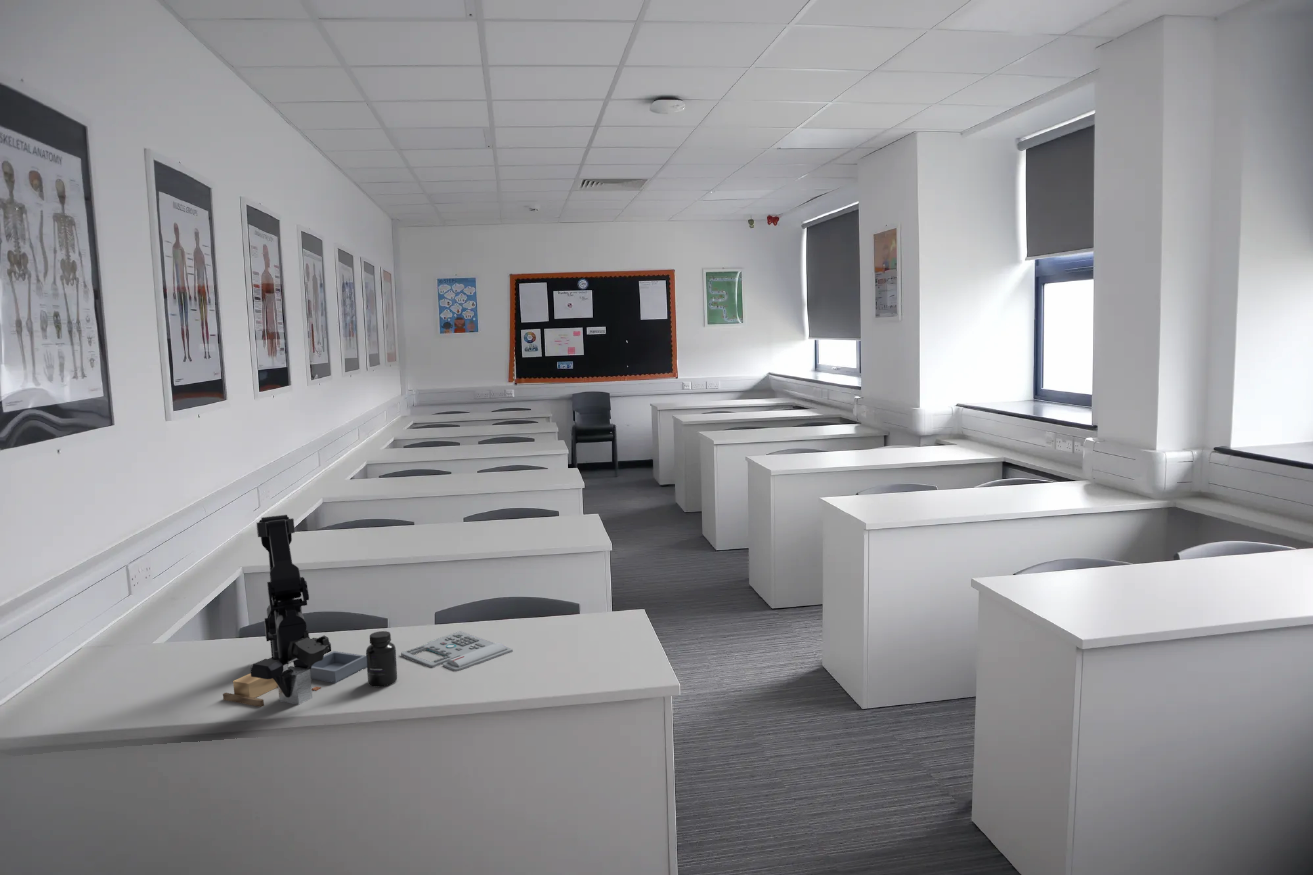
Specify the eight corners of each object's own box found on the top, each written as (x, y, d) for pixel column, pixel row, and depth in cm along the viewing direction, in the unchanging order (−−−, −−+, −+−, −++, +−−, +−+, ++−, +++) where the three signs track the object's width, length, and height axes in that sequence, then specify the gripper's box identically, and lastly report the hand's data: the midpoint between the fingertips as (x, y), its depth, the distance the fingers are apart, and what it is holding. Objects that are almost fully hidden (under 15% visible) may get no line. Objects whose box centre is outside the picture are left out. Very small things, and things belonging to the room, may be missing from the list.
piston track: (223, 700, 199) (222, 693, 199) (268, 679, 211) (267, 673, 211) (278, 710, 192) (277, 704, 192) (321, 688, 204) (320, 682, 204)
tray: (302, 677, 211) (301, 666, 211) (334, 662, 221) (333, 650, 220) (336, 683, 207) (335, 671, 206) (367, 667, 216) (366, 655, 216)
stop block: (279, 701, 197) (276, 672, 196) (293, 694, 201) (290, 665, 200) (299, 704, 195) (296, 675, 194) (312, 698, 198) (309, 669, 198)
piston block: (234, 697, 200) (233, 681, 200) (262, 684, 207) (261, 668, 207) (250, 700, 198) (248, 683, 198) (277, 687, 205) (276, 671, 205)
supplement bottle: (370, 690, 202) (366, 641, 200) (366, 680, 208) (362, 632, 206) (400, 683, 205) (396, 635, 204) (395, 674, 211) (391, 627, 210)
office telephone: (513, 644, 224) (450, 667, 209) (514, 653, 224) (450, 677, 209) (459, 626, 239) (397, 646, 224) (460, 635, 240) (397, 656, 225)
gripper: (283, 645, 184) (289, 715, 186) (346, 618, 201) (351, 682, 203) (245, 640, 189) (252, 707, 190) (310, 614, 206) (315, 676, 207)
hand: (295, 693), depth 198 cm, fingers closed on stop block, 4 cm apart
